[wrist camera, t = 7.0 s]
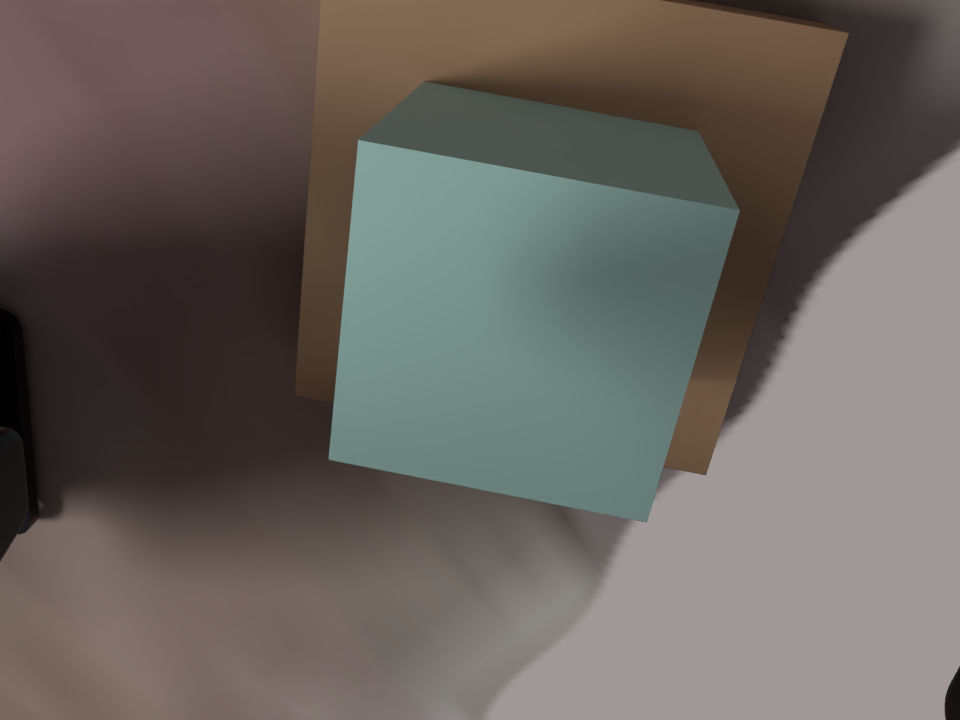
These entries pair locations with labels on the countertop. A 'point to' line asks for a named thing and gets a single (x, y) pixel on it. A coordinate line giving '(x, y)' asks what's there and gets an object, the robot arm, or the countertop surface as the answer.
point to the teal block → (525, 297)
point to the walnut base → (591, 87)
